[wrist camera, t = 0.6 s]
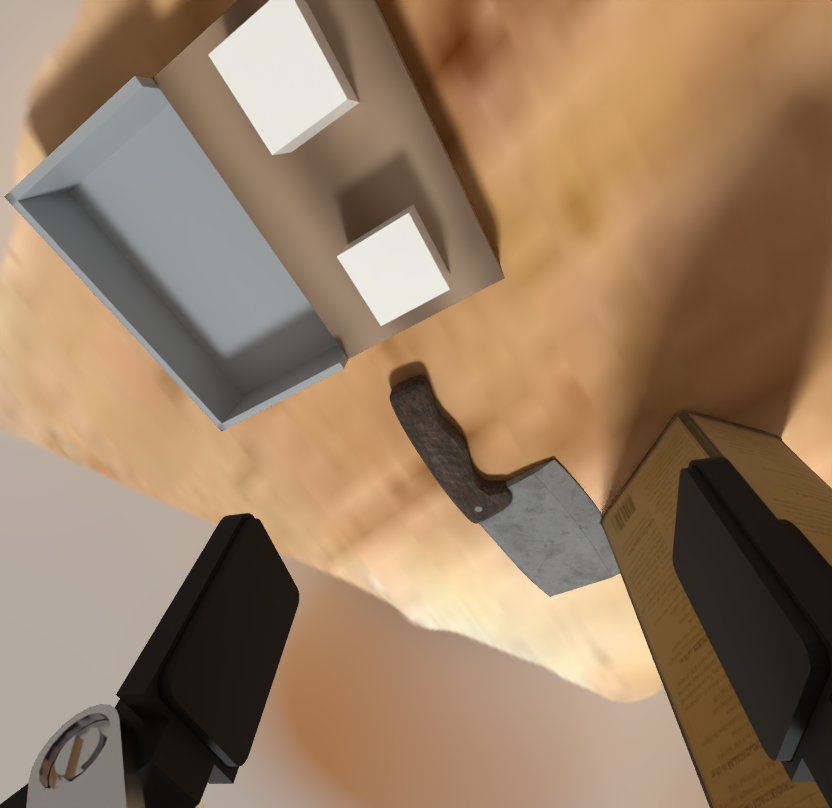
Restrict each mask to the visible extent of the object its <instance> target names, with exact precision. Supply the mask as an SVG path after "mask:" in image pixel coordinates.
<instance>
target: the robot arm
mask: <svg viewBox="0 0 832 808" xmlns="http://www.w3.org/2000/svg"><path fill="white" fill-rule="evenodd" d="M672 560H673V566H674V569H675V572H676V575H677V577H678V579H679V581H680V583H681V585H682V587H683V589H684V591H685V593H686V595H687V597H688V599H689V601H690V603H691V605H692V607H693V609H694V611H695V613H696V615H697V617H698V619H699V621H700V623H701V625H702V627H703V629H704V631H705V633H706V635H707V637H708V639H709V641H710V643H711V645H712V647H713V649H714V651H715V653H716V655H717V657H718V659H719V661H720V663H721V665H722V667H723V669H724V671H725V673H726V675H727V677H728V679H729V681H730V683H731V685H732V687H733V689H734V691H735V693H736V695H737V697H738V699H739V701H740V703H741V705H742V707H743V709H744V711H745V713H746V715H747V717H748V719H749V721H750V723H751V725H752V727H753V729H754V731H755V733H756V735H757V737H758V739H759V741H760V743H761V745H762V747H763V749H764V751H765V752H766V754H767V755H768V757H769V758H770V759H771V760H773V761H781V763H782V765H783V767H784V769H785V771H786V773H787V774H788V776H789V778H790V780H791V782H816V784H817V785H818V787H819V789H820V791H821V793H822V794H823V796H824V798H825V800H826V802H827V804H828V805H829V807H830V808H832V566H831V565H830V564H829V563H828V562H827V561H826V560H825V558H824V557H823V556H822V555H821V554H820V553H819V551H818V550H817V549H816V548H815V547H814V546H813V544H812V543H811V542H810V541H809V540H808V539H807V538H806V536H805V535H804V534H803V533H802V532H801V531H800V529H798V528H797V527H796V526H795V525H794V524H793V523H792V522H790V521H788V520H786V519H777V518H776V517H775V515H774V514H773V513H772V512H771V511H770V509H769V508H768V507H767V506H766V505H765V503H764V502H763V501H762V500H761V499H760V497H759V496H758V495H757V494H756V493H755V491H754V490H753V489H752V488H751V487H750V485H749V484H748V483H747V482H746V481H745V479H744V478H743V477H742V476H741V474H740V473H739V472H738V471H737V470H736V468H735V467H734V466H733V465H732V464H731V462H730V461H729V460H728V459H727V458H725V457H723V456H721V457H713V458H704V459H696V460H691V461H690V462H689V466H688V468H683V469H681V470H680V476H679V487H678V499H677V510H676V521H675V532H674V543H673V554H672ZM298 603H299V591H298V588H297V586H296V585H295V583H294V581H293V579H292V577H291V576H290V574H289V572H288V570H287V568H286V566H285V565H284V563H283V561H282V559H281V557H280V556H279V554H278V552H277V550H276V548H275V546H274V545H273V543H272V541H271V539H270V537H269V535H268V534H267V532H266V530H265V528H264V526H263V524H262V523H261V521H260V520H259V519H255V518H254V516H253V515H251V514H250V513H245V514H237V515H229V516H225V517H223V518H222V520H221V521H220V523H219V524H218V526H217V528H216V529H215V531H214V533H213V534H212V536H211V538H210V539H209V541H208V543H207V544H206V546H205V548H204V549H203V551H202V553H201V554H200V556H199V558H198V559H197V561H196V563H195V564H194V566H193V568H192V569H191V571H190V573H189V574H188V576H187V578H186V579H185V581H184V583H183V584H182V586H181V588H180V589H179V591H178V593H177V594H176V596H175V598H174V599H173V601H172V603H171V604H170V606H169V608H168V609H167V611H166V613H165V614H164V616H163V618H162V619H161V621H160V623H159V624H158V626H157V628H156V629H155V631H154V633H153V634H152V636H151V638H150V639H149V641H148V643H147V644H146V646H145V647H144V649H143V651H142V652H141V654H140V656H139V657H138V659H137V661H136V662H135V664H134V666H133V668H132V669H131V671H130V672H129V674H128V676H127V678H126V679H125V681H124V682H123V684H122V686H121V687H120V689H119V691H118V692H117V694H116V695H117V696H118V697H119V698H120V700H119V701H118V703H117V705H116V706H115V708H114V707H112V706H111V705H103V704H100V705H96V706H93V707H89V708H88V709H86V710H84V711H82V712H80V713H79V714H76V715H75V716H74V717H73V718H71V719H70V720H69V721H68V722H66V723H65V724H64V725H62V726H61V728H60V729H59V730H58V731H57V732H56V733H55V734H54V735H53V736H52V737H51V738H50V739H49V741H48V742H47V743H46V745H45V746H44V748H43V749H42V750H41V752H40V753H39V755H38V757H37V759H36V761H35V763H34V765H33V767H32V770H31V774H30V778H29V783H28V784H27V785H25V786H24V787H23V788H21V789H20V790H19V791H17V792H16V793H15V794H13V795H12V796H11V797H10V798H8V799H7V800H6V801H4V802H3V803H2V804H0V808H204V807H203V802H202V796H203V793H204V790H205V788H206V785H207V782H208V783H209V784H215V783H216V784H217V783H218V784H219V783H220V784H221V783H222V784H226V783H229V784H231V783H234V780H235V777H236V774H237V771H238V768H239V766H241V765H243V764H244V763H245V761H246V759H247V758H248V755H249V752H250V749H251V746H252V743H253V740H254V737H255V734H256V731H257V728H258V725H259V722H260V719H261V716H262V713H263V710H264V707H265V704H266V701H267V698H268V695H269V692H270V689H271V686H272V683H273V680H274V677H275V674H276V670H277V668H278V664H279V662H280V658H281V656H282V652H283V649H284V646H285V643H286V640H287V637H288V634H289V631H290V628H291V625H292V622H293V619H294V616H295V613H296V610H297V607H298Z"/></svg>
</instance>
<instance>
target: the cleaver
mask: <svg viewBox="0 0 832 808" xmlns="http://www.w3.org/2000/svg"><path fill="white" fill-rule="evenodd" d="M390 401H391V404H392V407H393V409H394V411H395V414H396V416H397V418H398V420H399V421H400V423H401V425H402V427H403V429H404V431H405V432H406V434H407V436H408V437H409V439H410V441H411V442H412V444H413V445H414V447H415V449H416V450H417V452H418V453H419V455H420V456H421V458H422V459H423V461H424V462H425V464H426V465H427V467H428V468H429V470H430V471H431V473H432V474H433V476H434V477H435V478H436V480H437V481H438V483H439V484H440V485H441V487H442V488H443V490H444V491H445V492H446V493H447V495H448V496H449V497H450V498H451V500H452V501H453V502H454V503H455V504H456V506H457V507H458V508H459V509H460V510H461V511H462V513H463V514H464V515H465V516H466V517H467V518H468V519H469V520H470V521H471V522H473V523H479V524H480V525H481V526H482V527H483V528H484V529H485V531H486V532H487V533H488V534H489V535H490V536H491V537H492V538H493V540H494V541H495V542H496V543H497V544H498V545H499V546H500V548H501V549H502V550H503V551H504V552H505V553H506V554H507V555H508V557H509V558H510V559H511V560H512V561H513V562H514V563H515V564H516V566H517V567H518V568H519V569H520V570H521V571H522V572H523V573H524V574H525V575H526V576H527V577H528V578H529V579H530V580H531V581H532V582H533V583H534V584H536V585H537V586H538V587H539V588H540V589H541V590H543V591H544V592H545V593H546V594H547V595H549V596H550V597H551V596H554V595H557V594H560V593H563V592H567V591H570V590H573V589H576V588H579V587H583V586H586V585H589V584H592V583H595V582H598V581H602V580H605V579H608V578H611V577H613V576H615V575H617V574H619V573H620V570H619V568H618V565H617V562H616V560H615V557H614V555H613V552H612V549H611V547H610V545H609V542H608V540H607V537H606V535H605V532H604V530H603V528H602V526H601V524H600V521H601V520H602V518H603V516H602V514H601V512H600V511H599V509H598V508H597V507H596V505H595V504H594V503H593V501H592V500H591V499H590V498H589V496H588V495H587V494H586V493H585V492H584V490H583V489H582V488H581V487H580V486H579V485H578V484H577V482H576V481H575V480H574V479H573V478H572V477H571V476H570V475H569V474H568V473H567V472H566V471H565V470H564V469H563V467H562V466H561V465H560V464H559V463H558V462H557V461H556V460H555V459H554V460H551V461H549V462H546V463H543V464H541V465H538V466H536V467H534V468H532V469H530V470H528V471H526V472H524V473H522V474H520V475H518V476H516V477H514V478H512V479H510V480H508V481H506V482H505V481H494V482H487V481H485V480H483V479H481V478H480V477H479V476H478V475H477V474H476V473H475V471H474V469H473V467H472V465H471V461H470V457H469V453H468V449H467V446H466V444H465V441H464V439H463V438H462V436H461V435H460V434H459V433H458V431H457V430H456V429H454V428H453V427H452V426H451V425H450V424H449V423H448V422H447V421H446V420H445V419H444V417H443V416H442V414H441V413H440V412H439V410H438V409H437V406H436V403H435V400H434V398H433V395H432V392H431V388H430V385H429V383H428V381H427V379H426V377H423V376H417V377H414V378H411V379H409V380H407V381H405V382H403V383H401V384H399V385H397V386H396V387H394V388H393V389H392V391H391V394H390Z"/></svg>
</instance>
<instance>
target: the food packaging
mask: <svg viewBox="0 0 832 808" xmlns="http://www.w3.org/2000/svg"><path fill="white" fill-rule="evenodd" d="M721 456H723V457H725V458H727V459H728V460H729V461H730V462H731V464H732V465H733V466H734V467H735V468H736V470H737V471H738V472H739V473H740V474H741V476H742V477H743V478H744V479H745V481H746V482H747V483H748V484H749V485H750V487H751V488H752V489H753V490H754V491H755V493H756V494H757V495H758V496H759V497H760V499H761V500H762V501H763V502H764V503H765V505H766V506H767V507H768V508H769V509H770V511H771V512H772V513H773V514H774V515H775V517H776V518H777V519H786V520H788V521H790V522H792V523H793V524H794V525H795V526H796V527H797V528H798V529H800V531H801V532H802V533H803V534H804V535H805V536H806V538H807V539H808V540H809V541H810V542H811V543H812V544H813V546H814V547H815V548H816V549H817V550H818V551H819V553H820V554H821V555H822V556H823V557H824V558H825V560H826V561H827V562H828V563H829V564H830V565H831V566H832V488H831V487H829V486H828V485H827V484H826V483H825V482H824V481H823V480H822V479H821V478H820V477H819V476H818V475H817V474H816V473H815V472H813V471H812V470H811V469H810V468H809V467H808V466H807V465H806V464H805V463H804V462H803V461H802V460H801V459H800V458H799V457H798V456H797V455H796V454H795V453H794V452H793V451H792V450H791V449H790V448H789V447H788V446H787V445H786V444H785V443H784V442H783V441H782V438H780V437H778V436H775V435H773V434H770V433H767V432H764V431H760V430H756V429H752V428H749V427H745V426H741V425H738V424H734V423H731V422H728V421H724V420H721V419H717V418H714V417H710V416H706V415H703V414H699V413H695V412H692V411H680V412H678V413H677V414H676V415H675V416H674V418H673V419H672V420H671V422H670V423H669V425H668V426H667V427H666V429H665V430H664V431H663V433H662V434H661V436H660V437H659V439H658V440H657V442H656V443H655V444H654V446H653V447H652V449H651V450H650V451H649V453H648V454H647V456H646V457H645V458H644V460H643V461H642V463H641V464H640V465H639V467H638V468H637V469H636V471H635V472H634V474H633V475H632V477H631V478H630V479H629V481H628V482H627V484H626V485H625V486H624V487H623V488H622V489H621V491H620V492H619V493H618V495H617V497H616V498H615V500H614V501H613V503H612V504H611V506H610V508H609V509H608V510H607V512H606V513H605V515H604V517H603V518H602V520H601V521H600V524H601V526H602V528H603V530H604V532H605V535H606V537H607V540H608V542H609V545H610V547H611V549H612V552H613V555H614V557H615V560H616V562H617V565H618V568H619V570H620V573H621V576H622V578H623V581H624V584H625V586H626V589H627V591H628V594H629V597H630V599H631V602H632V605H633V607H634V610H635V613H636V615H637V618H638V621H639V623H640V626H641V629H642V631H643V634H644V636H645V639H646V642H647V644H648V647H649V650H650V652H651V655H652V657H653V660H654V663H655V665H656V668H657V670H658V673H659V675H660V678H661V680H662V683H663V686H664V688H665V691H666V693H667V696H668V699H669V701H670V704H671V706H672V709H673V712H674V714H675V717H676V720H677V722H678V725H679V728H680V730H681V733H682V736H683V738H684V741H685V743H686V746H687V749H688V751H689V754H690V756H691V759H692V762H693V765H694V767H695V770H696V772H697V775H698V778H699V780H700V783H701V786H702V788H703V791H704V793H705V796H706V799H707V801H708V803H709V806H710V808H830V807H829V805H828V804H827V802H826V800H825V798H824V796H823V794H822V793H821V791H820V789H819V787H818V785H817V784H816V782H791V780H790V778H789V776H788V774H787V773H786V771H785V769H784V767H783V765H782V763H781V761H773V760H771V759H770V758H769V757H768V755H767V754H766V752H765V751H764V749H763V747H762V745H761V743H760V741H759V739H758V737H757V735H756V733H755V731H754V729H753V727H752V725H751V723H750V721H749V719H748V717H747V715H746V713H745V711H744V709H743V707H742V705H741V703H740V701H739V699H738V697H737V695H736V693H735V691H734V689H733V687H732V685H731V683H730V681H729V679H728V677H727V675H726V673H725V671H724V669H723V667H722V665H721V663H720V661H719V659H718V657H717V655H716V653H715V651H714V649H713V647H712V645H711V643H710V641H709V639H708V637H707V635H706V633H705V631H704V629H703V627H702V625H701V623H700V621H699V619H698V617H697V615H696V613H695V611H694V609H693V607H692V605H691V603H690V601H689V599H688V597H687V595H686V593H685V591H684V589H683V587H682V585H681V583H680V581H679V579H678V577H677V575H676V572H675V569H674V566H673V560H672V554H673V543H674V532H675V521H676V510H677V499H678V487H679V476H680V470H681V469H683V468H688V466H689V462H690V461H691V460H696V459H704V458H713V457H721Z"/></svg>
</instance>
